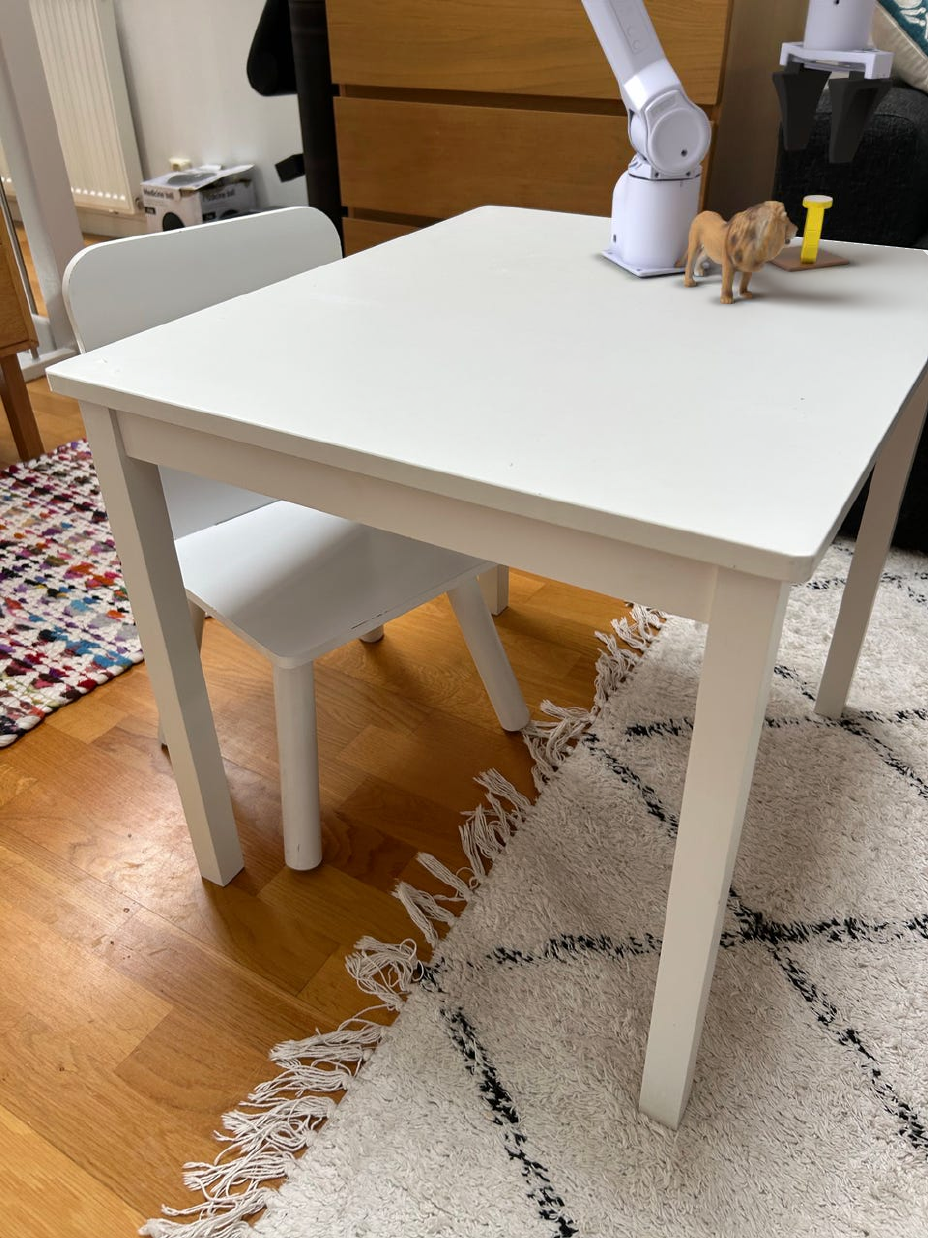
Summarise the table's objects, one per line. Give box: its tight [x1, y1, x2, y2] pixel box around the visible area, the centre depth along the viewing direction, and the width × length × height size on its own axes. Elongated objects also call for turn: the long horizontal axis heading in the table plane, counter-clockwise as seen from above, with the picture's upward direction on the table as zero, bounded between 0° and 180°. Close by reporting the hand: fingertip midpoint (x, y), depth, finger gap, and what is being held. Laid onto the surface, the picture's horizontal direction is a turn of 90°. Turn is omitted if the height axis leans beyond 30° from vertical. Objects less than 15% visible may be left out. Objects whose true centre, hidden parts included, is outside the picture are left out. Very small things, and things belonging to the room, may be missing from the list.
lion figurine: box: [674, 200, 799, 305], centre depth 90 cm, size 15×5×9 cm, turn 30°
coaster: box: [767, 245, 850, 272], centre depth 100 cm, size 7×7×1 cm
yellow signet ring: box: [801, 194, 834, 263], centre depth 97 cm, size 6×3×6 cm, turn 163°
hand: (817, 155), depth 95 cm, fingers open, 7 cm apart
